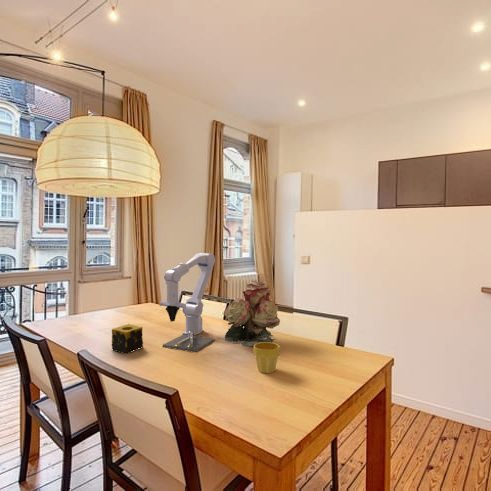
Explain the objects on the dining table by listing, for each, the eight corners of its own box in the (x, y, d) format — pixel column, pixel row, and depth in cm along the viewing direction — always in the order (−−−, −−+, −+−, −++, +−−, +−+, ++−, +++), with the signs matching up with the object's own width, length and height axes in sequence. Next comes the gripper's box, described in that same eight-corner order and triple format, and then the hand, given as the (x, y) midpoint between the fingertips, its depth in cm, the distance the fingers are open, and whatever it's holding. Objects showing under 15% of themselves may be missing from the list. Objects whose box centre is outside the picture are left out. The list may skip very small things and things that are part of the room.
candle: (128, 344, 171) (128, 323, 170) (143, 347, 166) (143, 326, 165) (111, 350, 162) (110, 328, 162) (126, 354, 157) (126, 332, 156)
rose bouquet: (217, 344, 172) (218, 282, 170) (245, 329, 198) (245, 275, 196) (266, 352, 160) (267, 286, 159) (288, 335, 186) (289, 279, 185)
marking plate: (183, 336, 184) (183, 332, 183) (214, 340, 177) (214, 336, 176) (162, 346, 167) (162, 342, 167) (195, 352, 160) (195, 347, 160)
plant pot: (263, 363, 148) (263, 339, 147) (284, 369, 141) (284, 345, 141) (248, 370, 140) (248, 346, 139) (269, 377, 133) (269, 352, 133)
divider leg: (188, 336, 178) (188, 330, 178) (194, 336, 179) (194, 330, 179) (188, 345, 165) (188, 339, 164) (194, 344, 165) (194, 339, 165)
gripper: (155, 294, 176) (155, 321, 177) (180, 296, 170) (180, 324, 171) (164, 292, 182) (164, 318, 183) (188, 294, 177) (188, 321, 177)
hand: (172, 321), depth 177 cm, fingers closed
